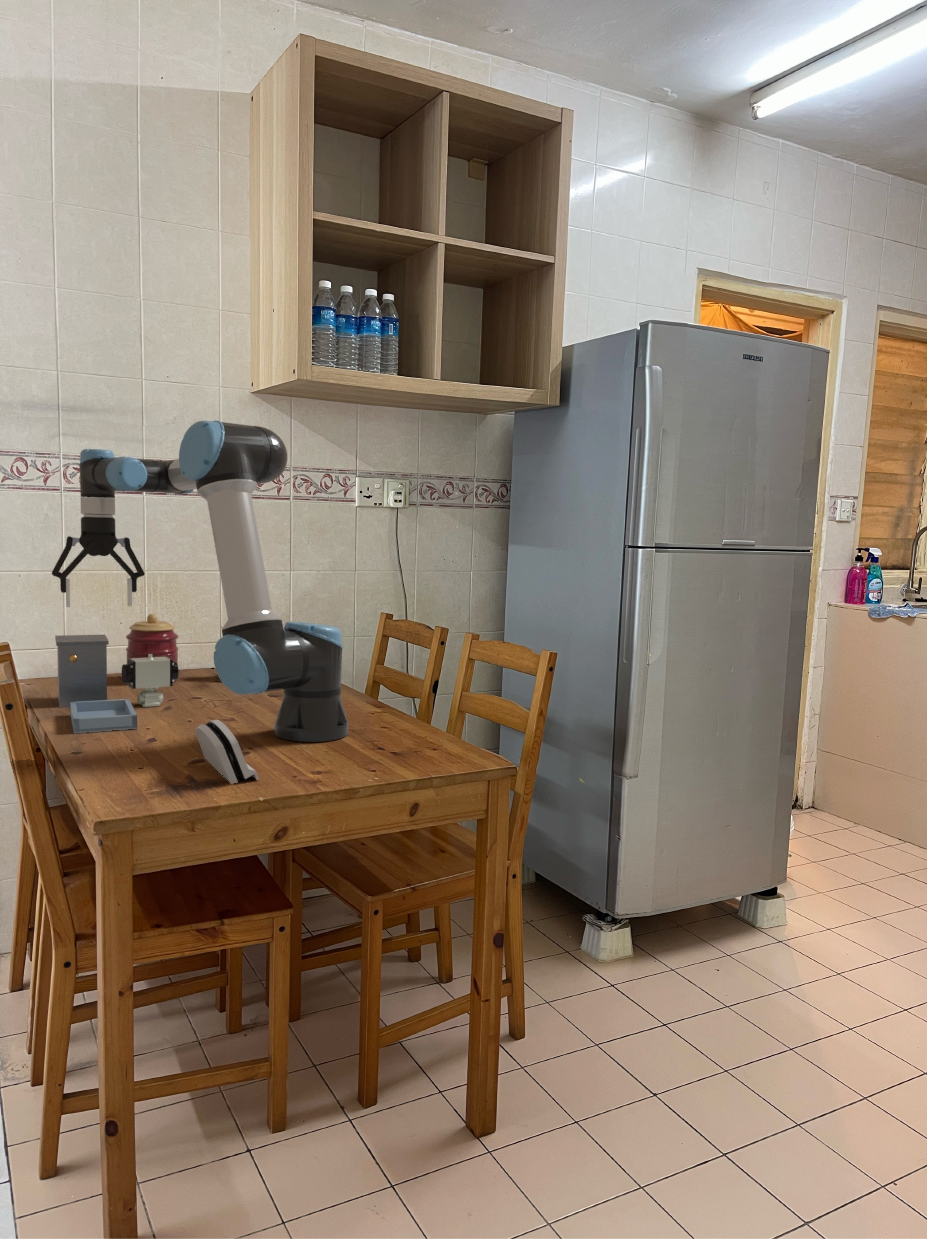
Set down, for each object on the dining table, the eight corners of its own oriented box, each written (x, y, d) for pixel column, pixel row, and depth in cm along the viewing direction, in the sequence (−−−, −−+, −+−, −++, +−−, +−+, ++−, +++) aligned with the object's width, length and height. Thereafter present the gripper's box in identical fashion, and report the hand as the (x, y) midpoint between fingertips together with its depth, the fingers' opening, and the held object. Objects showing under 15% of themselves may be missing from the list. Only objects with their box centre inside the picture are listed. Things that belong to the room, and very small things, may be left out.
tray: (137, 729, 185) (137, 715, 185) (73, 733, 180) (73, 719, 180) (129, 711, 201) (129, 698, 200) (70, 715, 195) (70, 701, 195)
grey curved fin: (260, 781, 154) (241, 729, 151) (234, 793, 152) (214, 741, 149) (232, 756, 168) (214, 708, 165) (208, 767, 166) (189, 719, 163)
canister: (124, 677, 239) (123, 611, 237) (174, 675, 245) (174, 610, 243) (128, 686, 228) (127, 617, 226) (181, 684, 233) (181, 616, 231)
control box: (109, 705, 206) (108, 641, 204) (57, 707, 202) (56, 642, 200) (105, 695, 216) (105, 634, 214) (56, 698, 211) (55, 635, 210)
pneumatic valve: (178, 705, 209) (179, 654, 207) (126, 710, 202) (126, 657, 201) (172, 700, 213) (172, 650, 212) (120, 705, 207) (120, 653, 205)
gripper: (151, 517, 220) (152, 603, 222) (39, 514, 209) (41, 605, 212) (155, 517, 213) (156, 607, 216) (39, 514, 202) (41, 608, 205)
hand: (99, 606), depth 214 cm, fingers open, 13 cm apart
